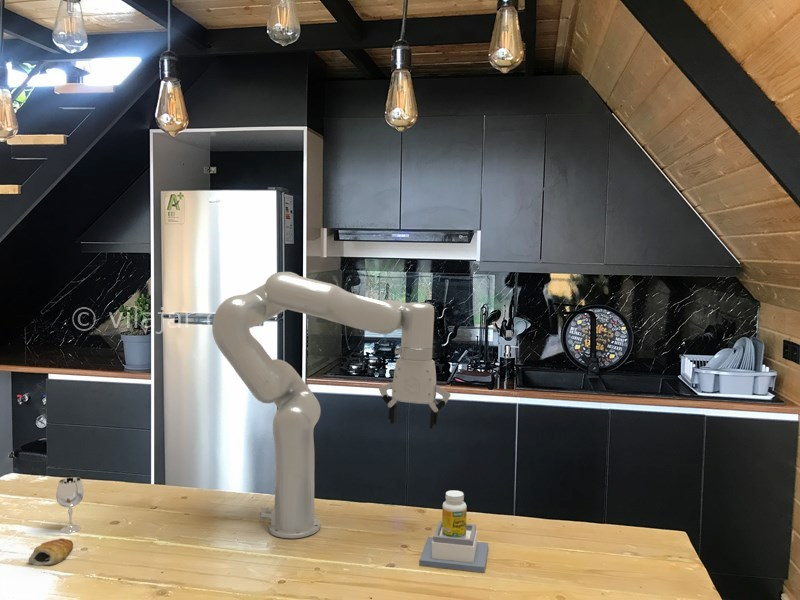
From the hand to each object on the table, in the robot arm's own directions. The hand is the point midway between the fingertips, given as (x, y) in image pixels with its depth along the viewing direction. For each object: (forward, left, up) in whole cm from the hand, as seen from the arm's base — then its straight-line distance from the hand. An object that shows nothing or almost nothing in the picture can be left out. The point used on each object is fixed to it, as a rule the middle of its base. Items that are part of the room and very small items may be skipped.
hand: (412, 425), depth 151 cm
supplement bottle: (+12, -10, -22) cm, 27 cm away
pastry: (-74, -31, -27) cm, 84 cm away
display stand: (+12, -10, -26) cm, 31 cm away
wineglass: (-80, -17, -27) cm, 86 cm away
